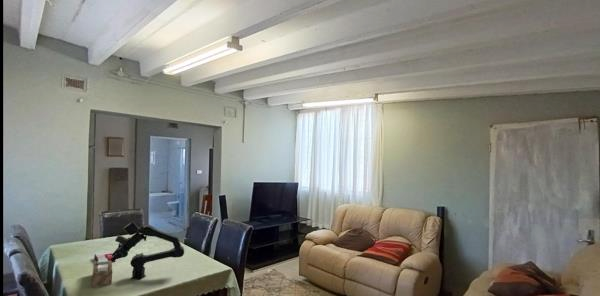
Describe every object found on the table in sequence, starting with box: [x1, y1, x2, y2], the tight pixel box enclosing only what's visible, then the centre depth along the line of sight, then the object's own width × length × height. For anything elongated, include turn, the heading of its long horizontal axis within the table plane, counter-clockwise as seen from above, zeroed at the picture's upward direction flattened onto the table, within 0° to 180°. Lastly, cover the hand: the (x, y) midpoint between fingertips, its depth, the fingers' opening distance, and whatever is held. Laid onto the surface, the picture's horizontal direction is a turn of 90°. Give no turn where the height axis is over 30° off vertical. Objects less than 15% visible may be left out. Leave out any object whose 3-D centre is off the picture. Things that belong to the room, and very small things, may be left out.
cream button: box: [98, 264, 108, 272], centre depth 199 cm, size 5×5×3 cm
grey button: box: [98, 259, 108, 265], centre depth 208 cm, size 5×5×3 cm
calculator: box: [93, 251, 117, 263], centre depth 237 cm, size 11×4×15 cm
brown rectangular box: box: [91, 260, 113, 288], centre depth 203 cm, size 10×22×8 cm, turn 31°
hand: (111, 257), depth 203 cm, fingers open, 9 cm apart
